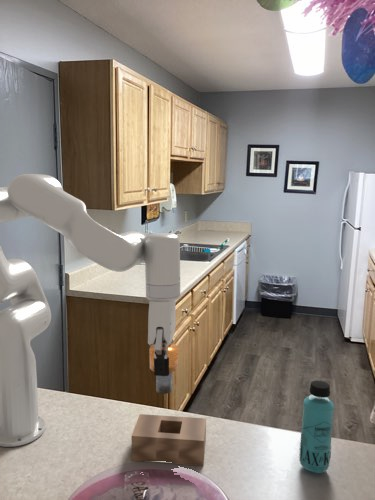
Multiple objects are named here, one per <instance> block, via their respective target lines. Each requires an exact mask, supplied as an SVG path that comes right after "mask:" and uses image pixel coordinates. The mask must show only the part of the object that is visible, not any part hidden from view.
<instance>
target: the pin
mask: <svg viewBox="0 0 375 500" xmlns="http://www.w3.org/2000/svg"><path fill="white" fill-rule="evenodd" d="M162 344H166V343H165V342H164V343H162ZM162 349H164V351H165V347H162ZM154 350H155V343H153V344H152V345H149V349H148V351H149V369H150V371H152V372H154ZM168 357H169V375H168V376H156V375H155V379H156V380H155V382H156V383H155V386H156V387H155V388H156V389H155V390H156V392H157V393H159V394H164V395H167V394H169V393H172V391H173V373H174V372H176V371H177V370H178V368H179V346H178V345H177V344H175V343H171V344H170V345H168Z"/></svg>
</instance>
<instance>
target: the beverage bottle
mask: <svg viewBox="0 0 375 500" xmlns="http://www.w3.org/2000/svg"><path fill="white" fill-rule="evenodd" d="M330 387H331V386H330V383H328V382H326V381H323V380H313V381H311V382H310V386H309V393H310V395H308V396H306V397H305V398H304V400H303V407H302V420H301V421H302V422H301V423H302V424H301V428H300V441H299V463H300V465H301V467H303V469H305V470H307V471H309V472H312V473H317V474H319V473H320V474H321V473H324V472H326V471H327V470H329V467H330V462H331V458H332V457H331V456H332V435H333V434H332V433H333V427H334V425H333V423H334V421H333V419H334V410H335V405H334V403H333V401H332V400H330V398H329V397H330V396H331V388H330Z"/></svg>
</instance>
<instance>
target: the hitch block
mask: <svg viewBox="0 0 375 500" xmlns="http://www.w3.org/2000/svg"><path fill="white" fill-rule="evenodd" d="M206 433H207V418H205V417H191V416H190V417H187V416H173V415H158V414H157V415H156V414H143V413H140V414H139V415H138V418H137V420H136V423H135V426H134V429H133V430H132V433H131V461H134V462H143V461H166V462H172V463H177V464H176V465H184V466H185V465H188V466H201V467H204V465H205V464H204V463H205V453H206V452H205V451H206V441H207V440H206V439H207V437H206V435H207V434H206Z"/></svg>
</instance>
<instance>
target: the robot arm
mask: <svg viewBox="0 0 375 500" xmlns="http://www.w3.org/2000/svg"><path fill="white" fill-rule="evenodd" d="M28 217H31V218H33V219H34V220H37V221H39V223H42V224H44V225H46V226H47V227H49V228H51V229H53V230H55V231H56V232H58V233H59V234H61V235H62V236H63V237H64V238H65V239H66V241H67V242H68V243H69V244H70V245H71V246H72V248H74V250H76V251H77V252H78V253H79V254H81V256H83V257H85V258H86V259H89V260H90V261H92V262H94V263H96V264H97V265H99V266H101V267H103V268H105V269H107V270H109V271H112V272H116V273H117V272H119V273H120V272H123V273H124V272H127V271H128V270H131V269H132V268H134V267H135V266H137V265H140V264H144V265H145V267H144V268H145V269H144V270H145V298H146V299H147V300H148V301H149V304H148V305H149V306H148V318H147V319H148V320H147V324H148V325H147V330H148V331H147V344H148V345H149V346H151V345H153V344H155V350H154V371H153V375H154V376H155V377H156V376H168V375H169V357H168V345H170V344H171V343H173V342H174V341H173V340H174V339H173V338H174V337H175V332H176V321H177V320H176V312H177V311H176V310H177V309H176V300H178V299H180V298H181V241H180V237H179V236H178V235H177V234H175V233H169V232H160V233H159V232H157V233H146V232H142V231H135V230H130V231H126V232H121V233H119V234H117V233H116V232H114V231H112V230H110V229H108V228H107V227H106V226H103V225H101V224H100V223H99V222H97V221H96V220H94V219H93V218H92V217H91V216H90V215H89V214H88V212H87V206H86V204H85V202H84V201H83V200H81V199H80V198H77V197H75V196H73V195H72V194H69V193H68V192H66V191H65V190H64V188H63V186H62V183H60V181H59V180H58V179H57V178H56V177H54V176H52V175H48V174H45V173H44V174H42V173H41V174H40V173H23V174H20V175H17V176H16V177H14V178H13V179H12V180H11V181H10V183H9V185H8V186H3V187H2V186H0V224H1V223H9V222H13V221H16V220H19V219H24V218H28ZM9 301H10V304H11V305H10V306H8V307H6V308H3V309H2V310H0V447H6V448H12V447H13V448H14V447H20V446H23V445H27V444H29V443H32V442H33V441H36V440H37V439H38V438H40V437H41V436H42V435H43V434H44V432H45V430H46V422H45V421H46V420H44V418H42V417H41V416H39V400H38V377H37V374H38V373H37V360H36V355H35V353H34V351H33V348H32V345H31V341H32V340H33V339H34V338H36V337H37V336H38V335H40V334H41V333H43V332H44V331H45V330H46V329H48V328H49V326H50V323H51V322H52V321H51V320H52V312H51V311H52V310H51V308H50V304H49V301H48V299H47V297H46V294H45V292H44V289H43V287H42V284H41V282H40V280H39V277H38V275H37V273H36V271H35V269H34V268H33V267H32V265H30V263H28V262H27V261H25V260H23V259H21V258H10V259H7V257H6V256H5V254H4V251H3V248H2V245H1V244H0V305H2V304H5V303H7V302H9ZM164 342H165V343H166V344H162V343H164ZM173 344H174V343H173ZM162 347H165V351H164V349H162Z"/></svg>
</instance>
